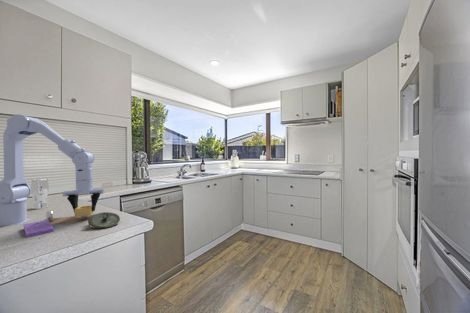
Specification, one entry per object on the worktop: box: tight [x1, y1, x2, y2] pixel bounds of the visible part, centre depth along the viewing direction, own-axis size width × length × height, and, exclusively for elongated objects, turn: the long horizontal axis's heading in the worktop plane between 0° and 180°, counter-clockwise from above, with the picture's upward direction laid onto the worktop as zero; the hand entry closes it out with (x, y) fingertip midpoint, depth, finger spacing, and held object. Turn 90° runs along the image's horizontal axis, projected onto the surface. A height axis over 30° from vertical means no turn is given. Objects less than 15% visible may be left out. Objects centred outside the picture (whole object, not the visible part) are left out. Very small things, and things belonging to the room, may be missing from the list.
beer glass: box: [30, 178, 50, 210], centre depth 112 cm, size 7×7×15 cm
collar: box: [74, 204, 95, 216], centre depth 90 cm, size 6×6×3 cm
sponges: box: [23, 218, 55, 238], centre depth 75 cm, size 7×13×2 cm, turn 48°
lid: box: [87, 211, 121, 230], centre depth 82 cm, size 11×10×5 cm
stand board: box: [44, 210, 96, 226], centre depth 88 cm, size 19×10×5 cm, turn 110°
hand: (84, 211), depth 90 cm, fingers closed on collar, 6 cm apart
